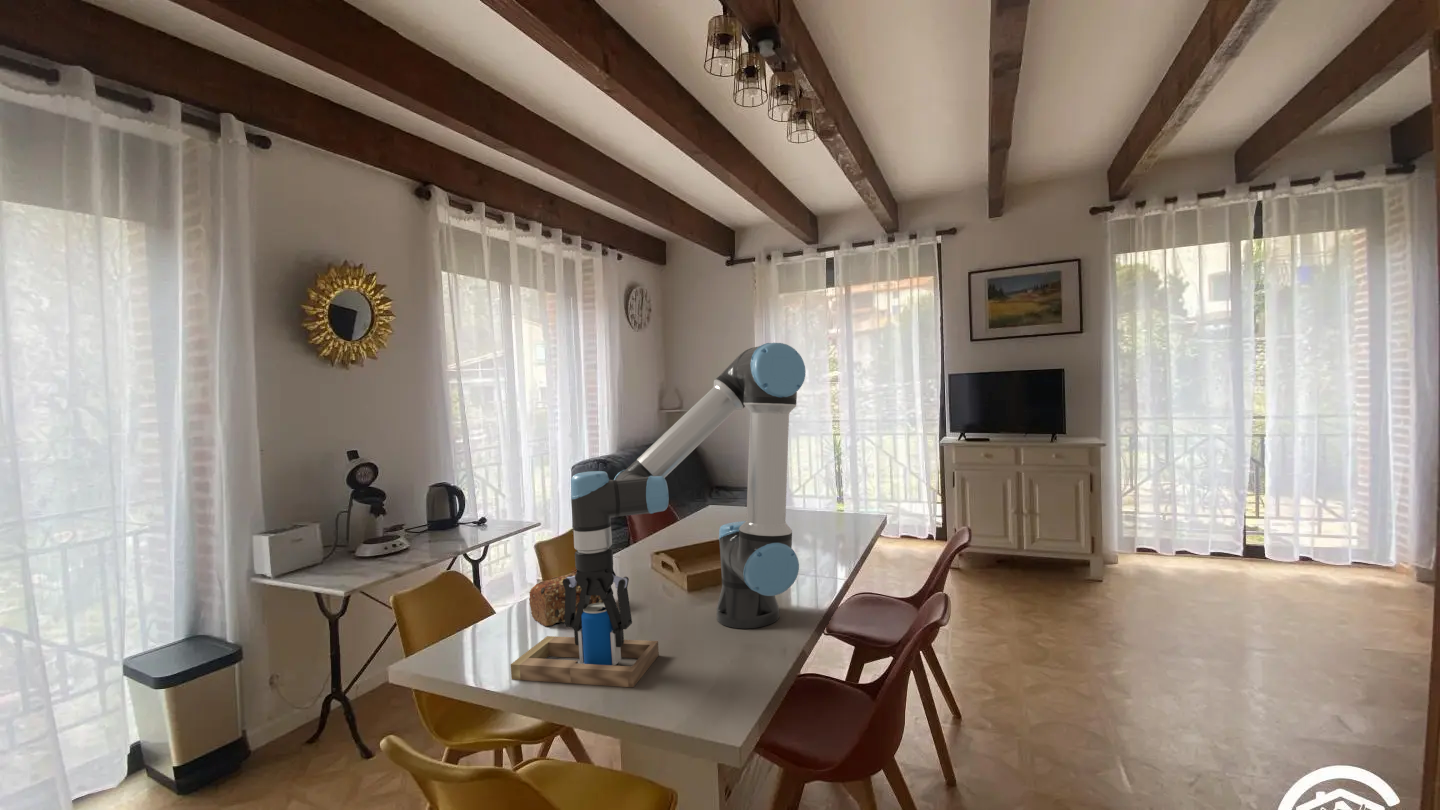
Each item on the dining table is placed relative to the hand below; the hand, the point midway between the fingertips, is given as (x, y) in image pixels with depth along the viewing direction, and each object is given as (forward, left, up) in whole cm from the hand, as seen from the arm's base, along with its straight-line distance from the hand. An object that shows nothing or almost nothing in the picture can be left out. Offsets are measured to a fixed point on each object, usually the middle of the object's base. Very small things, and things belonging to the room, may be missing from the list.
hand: (600, 661), depth 123 cm
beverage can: (0, 0, -1) cm, 1 cm away
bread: (+22, -29, -2) cm, 36 cm away
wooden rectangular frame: (+3, 0, -1) cm, 3 cm away
